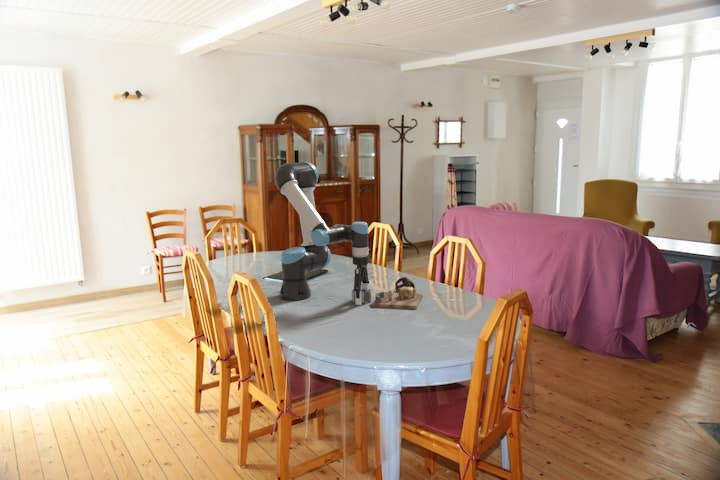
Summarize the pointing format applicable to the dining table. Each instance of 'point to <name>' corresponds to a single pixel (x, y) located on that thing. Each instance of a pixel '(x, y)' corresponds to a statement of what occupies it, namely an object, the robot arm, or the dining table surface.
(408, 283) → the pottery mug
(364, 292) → the planet gear
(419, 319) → the dining table surface
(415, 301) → the carrier plate
